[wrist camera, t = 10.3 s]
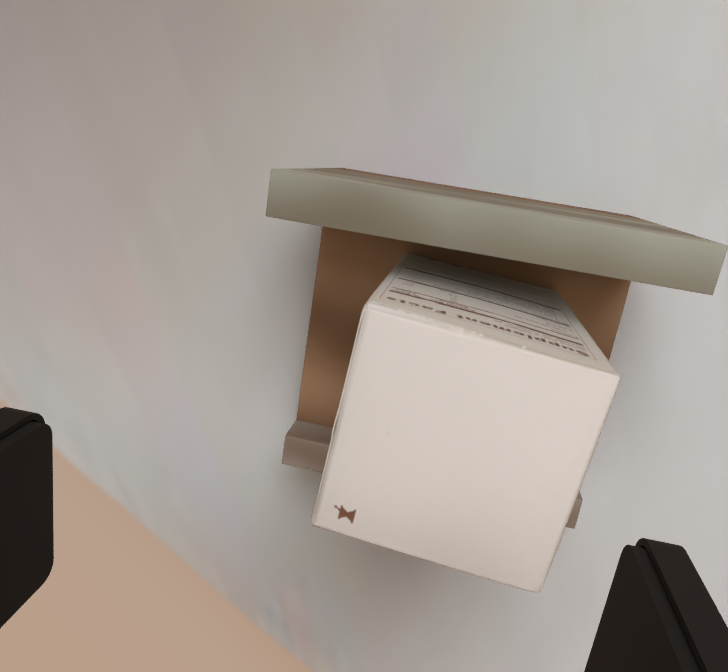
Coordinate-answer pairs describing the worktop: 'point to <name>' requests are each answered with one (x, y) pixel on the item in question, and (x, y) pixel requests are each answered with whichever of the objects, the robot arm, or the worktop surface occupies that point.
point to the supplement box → (465, 422)
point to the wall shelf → (467, 249)
